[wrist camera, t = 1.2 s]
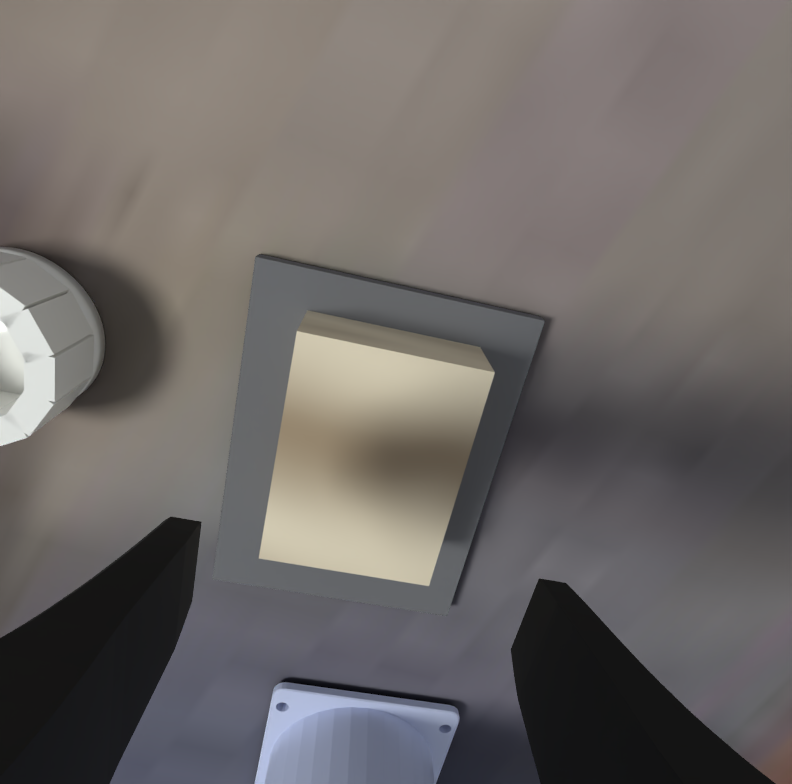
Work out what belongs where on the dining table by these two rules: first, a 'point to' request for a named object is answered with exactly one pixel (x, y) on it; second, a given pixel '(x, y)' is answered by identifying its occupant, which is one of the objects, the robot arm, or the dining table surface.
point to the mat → (264, 403)
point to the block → (372, 448)
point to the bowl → (43, 342)
